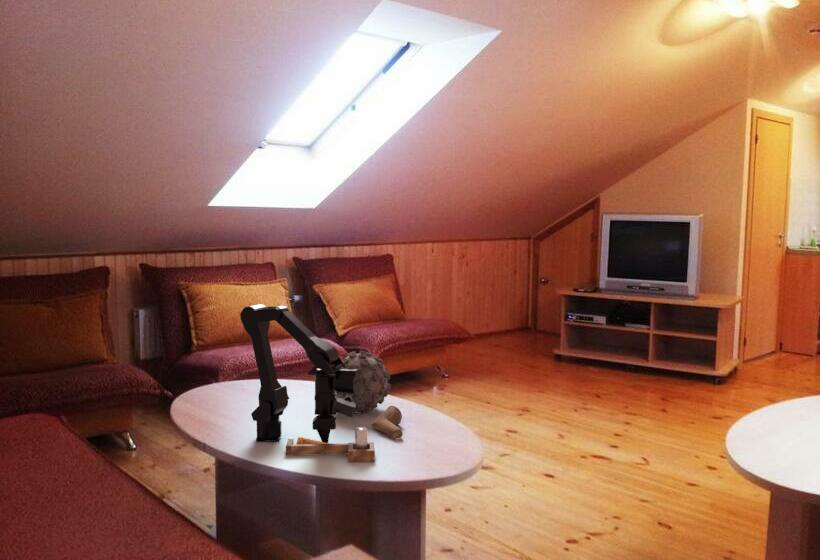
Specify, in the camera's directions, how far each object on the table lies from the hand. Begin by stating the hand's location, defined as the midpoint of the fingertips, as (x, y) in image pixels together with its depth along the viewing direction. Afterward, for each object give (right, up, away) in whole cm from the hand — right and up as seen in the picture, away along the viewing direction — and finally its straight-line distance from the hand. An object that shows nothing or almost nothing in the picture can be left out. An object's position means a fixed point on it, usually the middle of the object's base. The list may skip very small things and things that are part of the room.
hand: (325, 444), depth 202 cm
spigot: (+11, -1, -9) cm, 14 cm away
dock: (+2, -1, -6) cm, 7 cm away
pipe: (+19, 0, +15) cm, 24 cm away
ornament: (+7, +3, +36) cm, 37 cm away
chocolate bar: (-3, -1, 0) cm, 3 cm away
